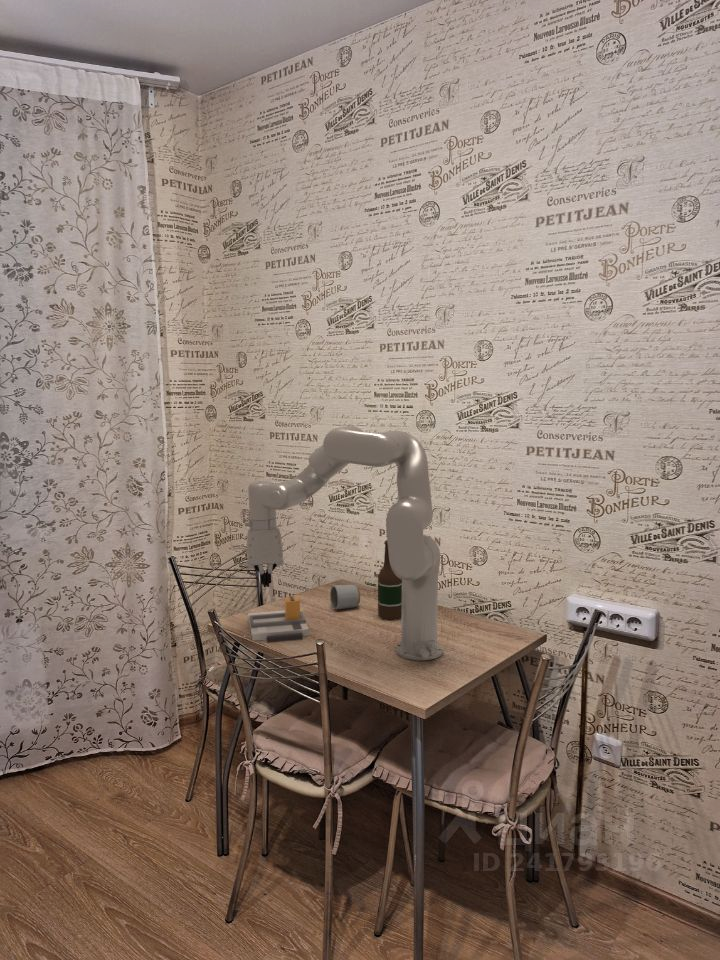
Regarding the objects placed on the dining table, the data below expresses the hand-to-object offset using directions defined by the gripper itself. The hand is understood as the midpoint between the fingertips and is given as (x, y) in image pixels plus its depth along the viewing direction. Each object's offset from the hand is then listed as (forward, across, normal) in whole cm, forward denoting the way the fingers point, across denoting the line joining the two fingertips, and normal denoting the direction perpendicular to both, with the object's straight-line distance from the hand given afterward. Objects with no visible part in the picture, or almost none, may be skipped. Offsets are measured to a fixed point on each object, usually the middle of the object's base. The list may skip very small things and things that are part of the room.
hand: (266, 585), depth 199 cm
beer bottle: (+14, +38, +2) cm, 40 cm away
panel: (+13, +3, 0) cm, 13 cm away
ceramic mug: (+14, +25, +15) cm, 32 cm away
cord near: (+13, +4, -10) cm, 17 cm away
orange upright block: (+11, +7, 0) cm, 13 cm away
